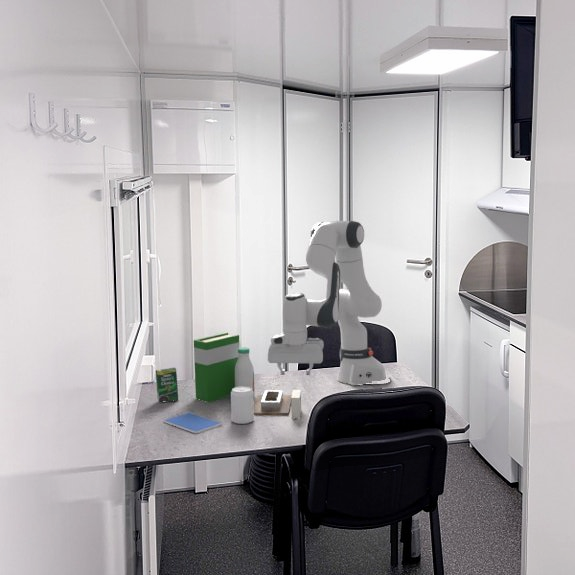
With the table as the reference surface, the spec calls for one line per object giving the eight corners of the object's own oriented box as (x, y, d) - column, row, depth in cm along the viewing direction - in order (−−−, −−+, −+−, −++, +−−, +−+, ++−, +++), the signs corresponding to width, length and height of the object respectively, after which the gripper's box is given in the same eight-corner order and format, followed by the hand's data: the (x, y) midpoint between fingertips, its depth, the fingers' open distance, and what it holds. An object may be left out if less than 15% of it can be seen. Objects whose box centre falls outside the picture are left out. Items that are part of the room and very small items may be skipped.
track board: (292, 397, 298) (292, 395, 298) (288, 415, 277) (288, 413, 276) (257, 397, 299) (257, 395, 299) (250, 414, 278) (250, 412, 278)
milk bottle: (251, 400, 295) (250, 351, 292) (233, 399, 297) (231, 350, 294) (256, 394, 303) (255, 346, 300) (238, 393, 304) (236, 345, 301)
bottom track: (282, 397, 295) (282, 390, 294) (279, 409, 280) (279, 402, 280) (265, 397, 295) (264, 390, 295) (261, 409, 281) (260, 402, 280)
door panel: (301, 410, 282) (301, 389, 281) (300, 419, 272) (299, 397, 271) (293, 410, 282) (292, 389, 281) (291, 418, 273) (290, 397, 271)
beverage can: (228, 419, 273) (227, 387, 271) (249, 416, 276) (248, 384, 274) (236, 426, 266) (235, 393, 264) (257, 422, 269) (256, 390, 267)
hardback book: (228, 388, 311) (226, 332, 308) (240, 392, 306) (239, 334, 303) (195, 398, 299) (193, 340, 295) (208, 402, 294) (205, 342, 290)
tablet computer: (161, 423, 272) (161, 419, 271) (189, 414, 281) (189, 411, 280) (195, 435, 258) (195, 432, 258) (223, 426, 267) (223, 423, 267)
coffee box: (158, 403, 293) (156, 371, 291) (156, 401, 296) (155, 369, 294) (178, 401, 296) (177, 368, 294) (177, 399, 299) (175, 367, 297)
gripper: (323, 336, 275) (324, 372, 277) (268, 335, 277) (269, 372, 279) (323, 339, 269) (323, 377, 271) (266, 339, 270) (267, 376, 273)
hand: (295, 374), depth 275 cm, fingers open, 8 cm apart
